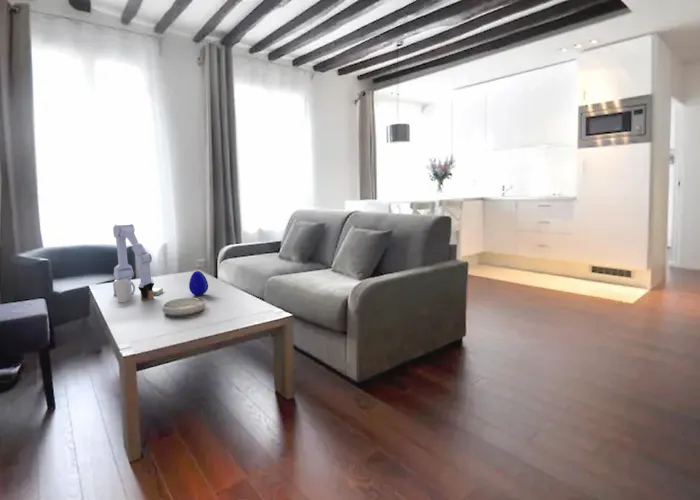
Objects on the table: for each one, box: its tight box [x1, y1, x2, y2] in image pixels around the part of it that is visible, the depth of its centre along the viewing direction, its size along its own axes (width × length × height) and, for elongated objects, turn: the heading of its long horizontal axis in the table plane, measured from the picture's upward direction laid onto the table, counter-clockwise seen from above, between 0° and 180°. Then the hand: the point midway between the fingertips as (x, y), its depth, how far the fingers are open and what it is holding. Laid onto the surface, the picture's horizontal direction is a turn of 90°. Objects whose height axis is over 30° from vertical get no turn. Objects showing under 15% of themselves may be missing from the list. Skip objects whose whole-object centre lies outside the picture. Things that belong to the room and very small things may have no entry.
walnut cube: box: [140, 290, 154, 301], centre depth 251 cm, size 5×5×5 cm
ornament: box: [188, 270, 209, 296], centre depth 258 cm, size 11×9×15 cm
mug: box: [114, 280, 136, 303], centre depth 248 cm, size 10×7×12 cm, turn 119°
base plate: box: [152, 287, 164, 297], centre depth 263 cm, size 9×9×3 cm
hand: (147, 296), depth 251 cm, fingers closed on walnut cube, 5 cm apart
